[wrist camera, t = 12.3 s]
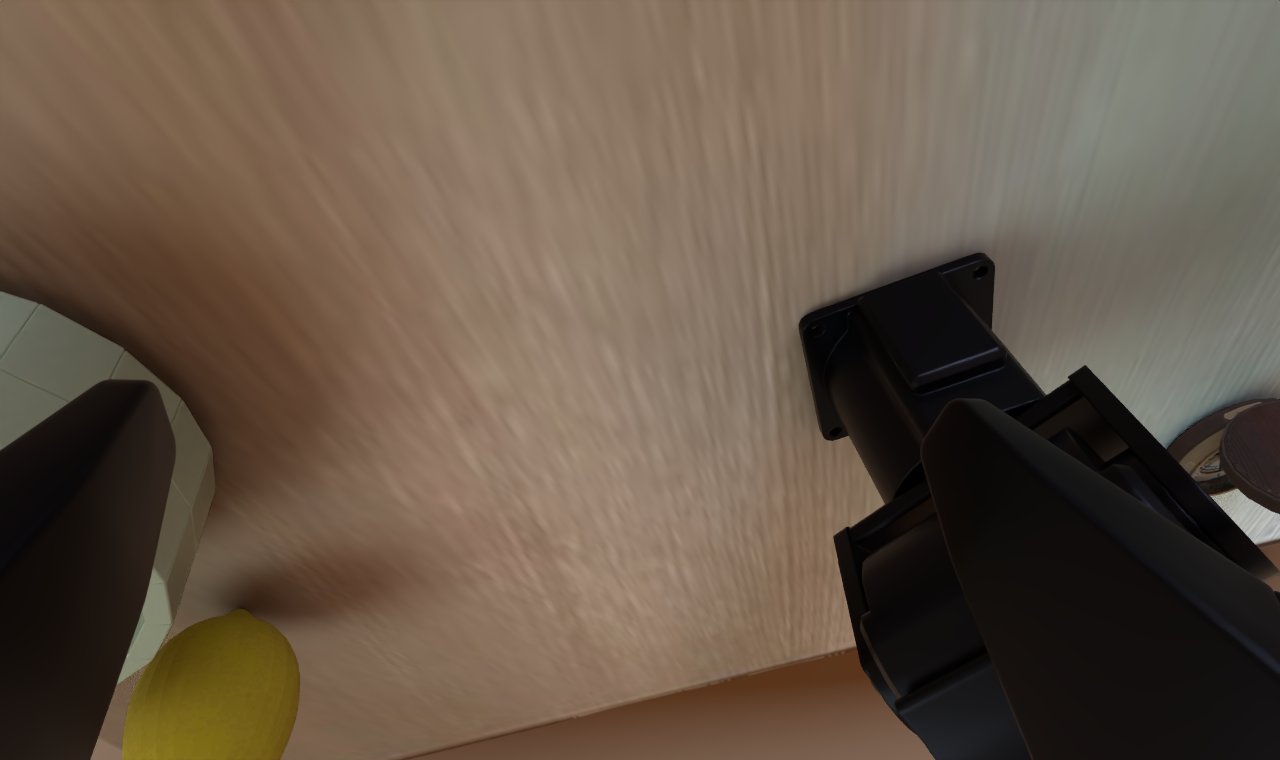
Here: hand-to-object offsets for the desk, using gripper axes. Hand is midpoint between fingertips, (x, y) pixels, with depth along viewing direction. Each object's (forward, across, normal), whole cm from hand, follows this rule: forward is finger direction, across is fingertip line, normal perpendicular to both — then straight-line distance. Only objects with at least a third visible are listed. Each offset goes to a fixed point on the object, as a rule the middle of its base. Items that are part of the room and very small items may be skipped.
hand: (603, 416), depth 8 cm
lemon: (+12, +10, +24) cm, 28 cm away
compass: (+12, -34, +12) cm, 38 cm away
